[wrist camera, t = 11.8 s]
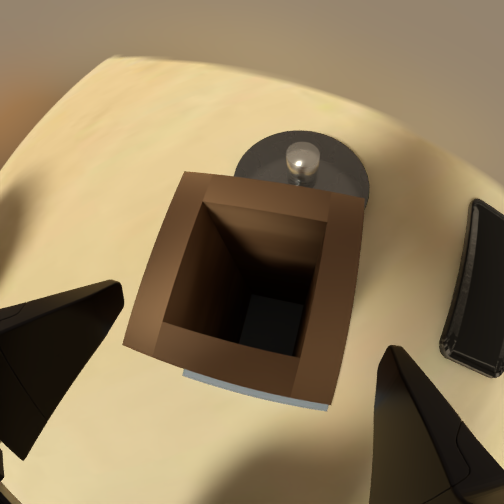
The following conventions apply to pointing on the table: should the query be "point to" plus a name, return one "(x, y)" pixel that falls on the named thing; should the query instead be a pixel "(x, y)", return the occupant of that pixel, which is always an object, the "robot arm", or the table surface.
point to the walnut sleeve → (250, 281)
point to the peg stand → (306, 163)
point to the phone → (478, 296)
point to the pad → (267, 343)
